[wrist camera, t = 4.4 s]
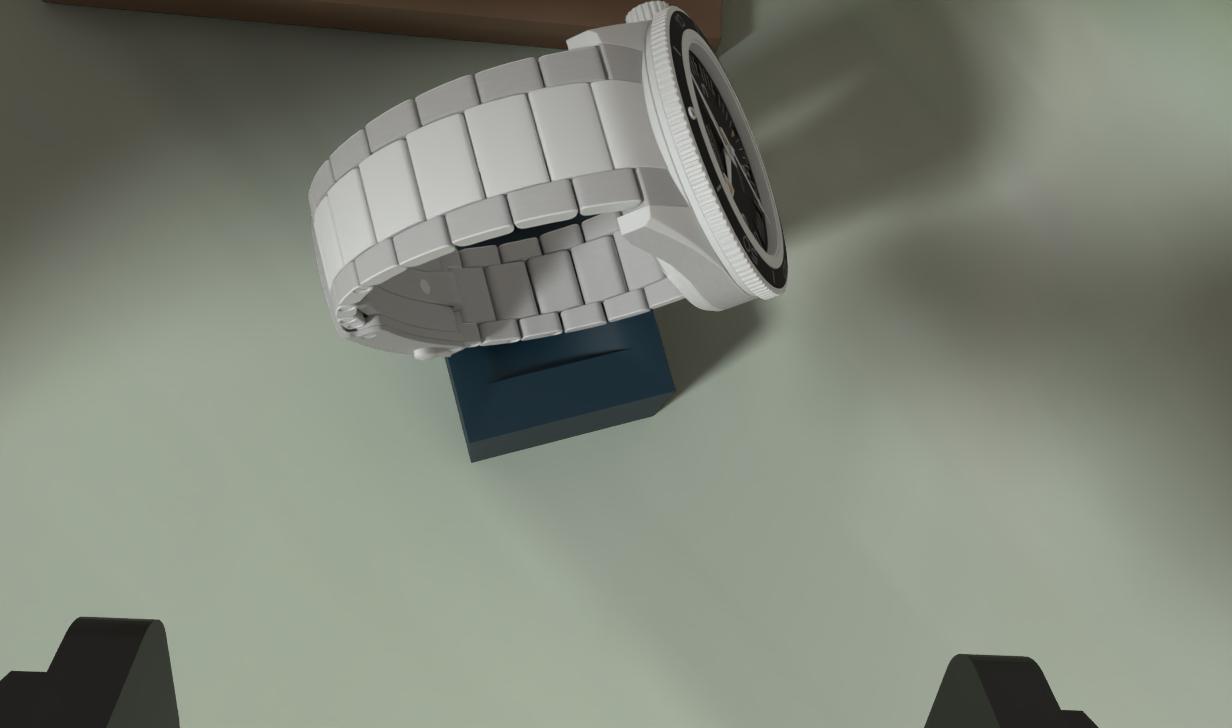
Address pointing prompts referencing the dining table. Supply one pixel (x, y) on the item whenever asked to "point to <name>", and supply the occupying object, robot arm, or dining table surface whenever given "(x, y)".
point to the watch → (551, 227)
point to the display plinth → (436, 16)
